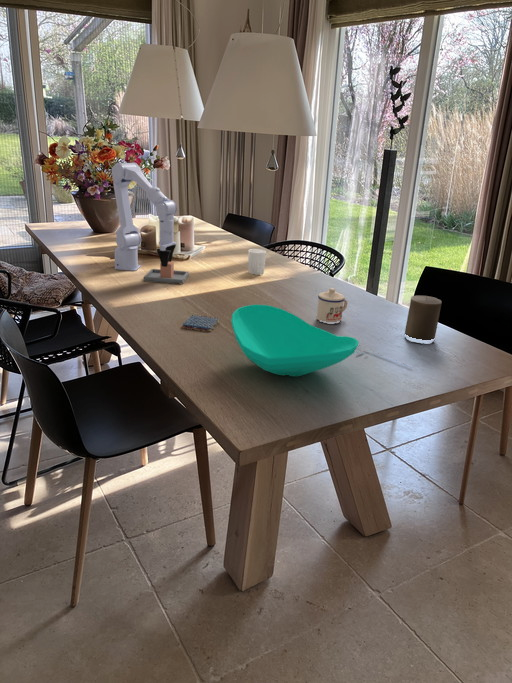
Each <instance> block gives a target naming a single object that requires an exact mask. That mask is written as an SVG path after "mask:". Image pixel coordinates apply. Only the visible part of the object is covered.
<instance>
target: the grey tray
mask: <svg viewBox="0 0 512 683" xmlns="http://www.w3.org/2000/svg"><path fill="white" fill-rule="evenodd" d="M189 273H190V272H189V270H188V271H187V270H174V276H173V277H172V278H160V269H158V268H151V269H150V270H149V271H147V273H146V274H145V275H144V276H143V282H149V283H150V282H151V283H162V282H168V283H167V284H175V283H182V284H181V285H183V284H184V283H185V282H186V280H187V279H188V277H189V275H190V274H189ZM183 282H184V283H183Z"/></svg>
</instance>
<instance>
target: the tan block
mask: <svg viewBox="0 0 512 683" xmlns="http://www.w3.org/2000/svg"><path fill="white" fill-rule="evenodd" d="M174 263H175V262H174V261H171V262H168V265H167V267H163V266H162V265H161V263H160V265H159V266H160V278H172V277H173V276H174V267H175V266H174V265H175V264H174Z"/></svg>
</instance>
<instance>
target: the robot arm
mask: <svg viewBox="0 0 512 683" xmlns="http://www.w3.org/2000/svg"><path fill="white" fill-rule="evenodd" d="M111 173H112V181H113V190H114V196H115V201H116V203H115V204H116V207H117V208H116V209H117V214H118V220H119V227H118V229H116V230H115V235H116V237H115V242H116V245H117V247H115V249H114V270H120V271H130V272H131V271H132V272H134V271H135V272H136V271H138V269H140V268H141V266H142V265H140V264H138V263H139V262H138V261H139V259H138V257H139V256H138V249H139V246H140V245H141V242H142V237H141V234H140V232H139V228H138V227H137V226H136V225H134V221H133V215H132V208H131V201H130V196H129V191H128V190H129V189H128V186H129V185H130V184H131V183H132V182H135V183H136V185H138V186H139V187H140V188H141V189H142V190H143V191H144V192H145V193H146V198H147V199H148V200H149V202H150V203H151V204H152V205H153V206H154V207H155V210H156V211H155V212H156V214H157V216H158V217H157V219H158V220H159V222H158V225H159V228H158V229H159V239H158V240H159V241H158V245H159V248H157V249H156V253H157V254H158V257H159V259H160V260H159V261H160V264H161V265H162V266H163V267H167V265H168V262H173V261H172V259H173V255H174V251H175V249H176V246H177V241H174V239H175V238H174V237H175V235H174V234H175V232H174V231H175V230H174V226H175V225H174V224H175V223H174V222H175V218H174V217H175V216H174V215H176V213H177V211H178V208H177V204H176V202H175V200H173V199H169V198H168V197H167V196H166V195H164V193H163V192H162V191H161V189H160V187H157V186H153V185H152V184H151V183H150V181H149V180H148V178H146V176H145V175H144V174H143V172H142V168H141V167H140V165H139V164H138V163H136V162H127V163H126V162H122V163H120V162H116V163H115V164H114V165H113V166H112V168H111Z"/></svg>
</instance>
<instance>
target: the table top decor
mask: <svg viewBox="0 0 512 683" xmlns="http://www.w3.org/2000/svg"><path fill="white" fill-rule="evenodd" d="M231 326H232V329H233V333H234V336H235V340H236V341H237V343H238V345H239V347H240V348H241V351H242V353H244V356H246V358H247V359H248V360H249V361H250V362H252V363H254V364H255V365H256V366H258V367H259V368H260V369H262V370H263V371H267V372H269V373H272V374H274V375H278V376H284V377H285V375H289V376H288V377H300V376H305V375H308V374H310V373H314V372H318V371H321V370H323V369H327V368H329V367H332V366H334V365H337V364H338V363H339V364H340V363H341V362H343V361H344V360H346V359H347V358H349V357H350V356H352V355H353V354H354V353H355V352H356V350H357V348H358V347H359V346H358V345H359V344H360V343H359V341H358V340H357V338H356V337H352V336H346V335H345V336H343V335H336V334H333V333H332V332H330V331H327V330H324V329H322V328H319V327H316V326H314V325H311V324H310V323H308V322H306V321H305V320H303V319H302V318H301V317H298V316H297V315H296V314H293V313H291V312H289V311H287V310H284V309H283V308H279V307H276V306H272V305H268V304H250V305H245V306H241V307H239V308H237V309H235V311H234V312H233V313H232V314H231Z"/></svg>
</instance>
